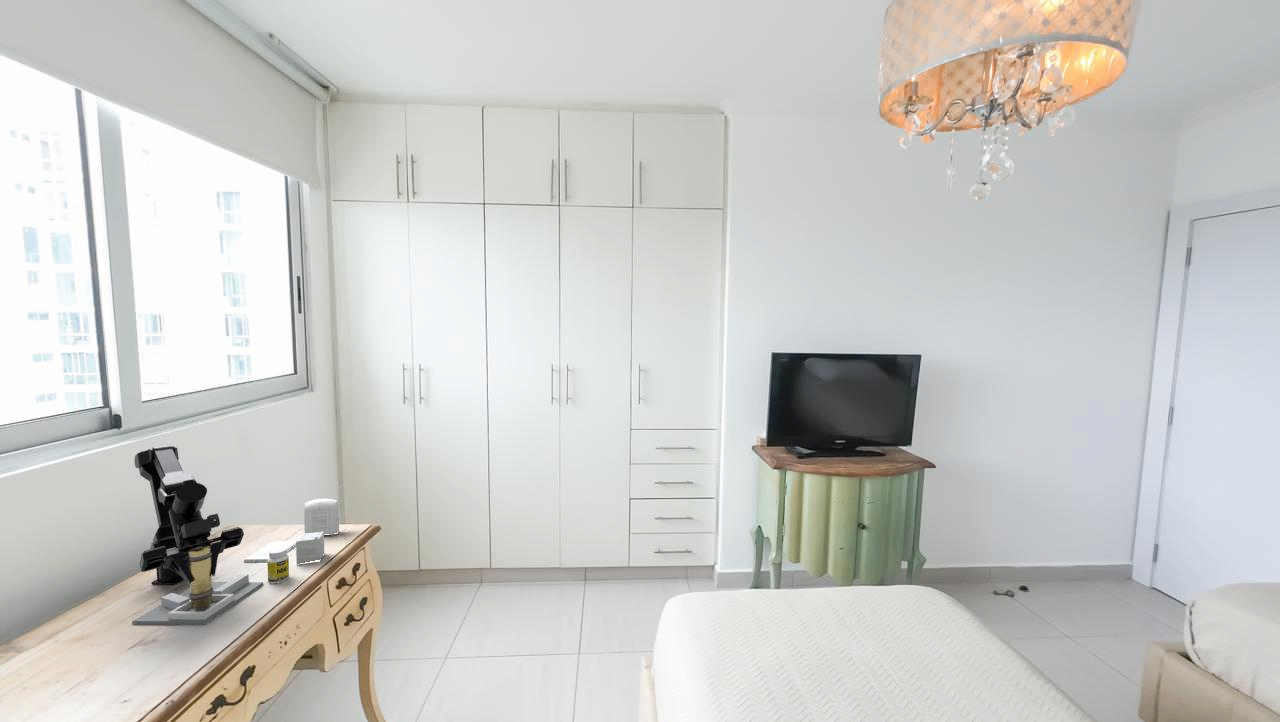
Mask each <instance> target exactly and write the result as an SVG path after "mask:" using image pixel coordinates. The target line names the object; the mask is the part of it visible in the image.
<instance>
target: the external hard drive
mask: <svg viewBox="0 0 1280 722" xmlns="http://www.w3.org/2000/svg"><path fill="white" fill-rule="evenodd" d="M296 541H297V540H278V541H277V540H275V541H272V542H270V543H268V544H267V545H266V546H264V547H262V548H261V549H259V550H258V551H256V552H254V553H253V554H251V555H250V556H248V557H246V558H245V559H244V560H243V563H266V562H265V561H268V559H269V558H270V557H269V551H271V550H272V549H275V548H280V547H285V548H287V550H289V549H290V548H292V547H293V546H295V545H296ZM295 547H296V546H295ZM292 549H293V548H292ZM289 551H290V550H289ZM253 561H254V562H253ZM259 561H261V562H259Z"/></svg>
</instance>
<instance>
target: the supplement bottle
mask: <svg viewBox="0 0 1280 722" xmlns="http://www.w3.org/2000/svg"><path fill="white" fill-rule="evenodd" d="M269 557H270V558H269V559H268V561H267V562H266V563H267V582H268V583H269V584H279V583H278V582H280V583H282V582H281V581H283V582H285V581H286V580H288V579H289V578H290V562H289V560H290V559H289V555H288V552H287V548H285V547H280V548H275V549H272V550H271V551H269ZM288 577H289V578H288ZM287 578H288V579H287ZM284 580H285V581H284Z"/></svg>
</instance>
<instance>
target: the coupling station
mask: <svg viewBox="0 0 1280 722" xmlns="http://www.w3.org/2000/svg"><path fill="white" fill-rule="evenodd" d="M249 579H250V578H249V574H247V573H246V574H245V573H243V574H241V573H240V574H238V575H236V576H235V577H233V578H232V579H230V580H228V581H212V587H213V594H212V595H213V603H212V604H211V605H210V606H208V607H205V608H202V609H197V610H193V609H191V600H190V599H189V594H190V587H188V589H185V590H184V591H182V592H180V593H173V592H170V593H167V594H166V595H164V596H161V597H160V600H161V601H160V602H161V603H160V604H159V605H158V606H156V607H154V608H152V609H150V610H149V611H147V612H145V613H143V614H141V615H140V616H139V617H136V618H134V619H133V620H132V622H131V625H176V626H177V625H178V626H179V625H185V626H187V625H189V626H190V625H193V626H194V625H195V626H196V625H197V626H202V625H203V626H204V625H207V624H208V623H210V622H211V621H212V620H214V619H215V618H217V617H219V616H220V615H221V614H224V612H226V611H228V610H229V609H230V608H232V607H234V606H235V605H236V604H238V603H239V602H241V601H242V600H243V598H244V599H245V598H246V596H247V597H248V596H249V595H251V594H253V593H254V592H255V591H257V590H258V589H260V588H261V587H263V586H264V582H263V581H258V582H257V581H249ZM262 585H263V586H262ZM240 600H241V601H240ZM237 602H238V603H237ZM218 615H219V616H218Z"/></svg>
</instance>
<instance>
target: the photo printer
mask: <svg viewBox="0 0 1280 722" xmlns="http://www.w3.org/2000/svg"><path fill="white" fill-rule="evenodd" d="M339 503H340V502H339V500H338V499H333V498H316V499H313V500H309V501H307V502H305V504H304V507H303V513H304V517H303V518H304V522H303V523H304V534H305V533H315V532H324V534H334V533H337V532H339V533H340V504H339Z"/></svg>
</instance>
